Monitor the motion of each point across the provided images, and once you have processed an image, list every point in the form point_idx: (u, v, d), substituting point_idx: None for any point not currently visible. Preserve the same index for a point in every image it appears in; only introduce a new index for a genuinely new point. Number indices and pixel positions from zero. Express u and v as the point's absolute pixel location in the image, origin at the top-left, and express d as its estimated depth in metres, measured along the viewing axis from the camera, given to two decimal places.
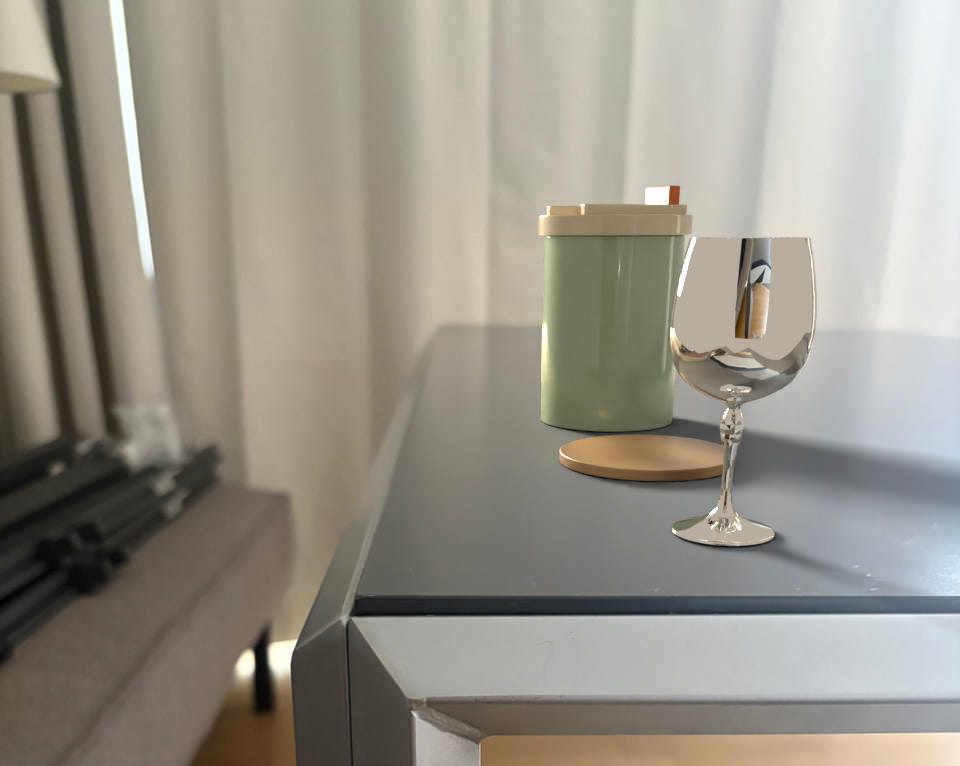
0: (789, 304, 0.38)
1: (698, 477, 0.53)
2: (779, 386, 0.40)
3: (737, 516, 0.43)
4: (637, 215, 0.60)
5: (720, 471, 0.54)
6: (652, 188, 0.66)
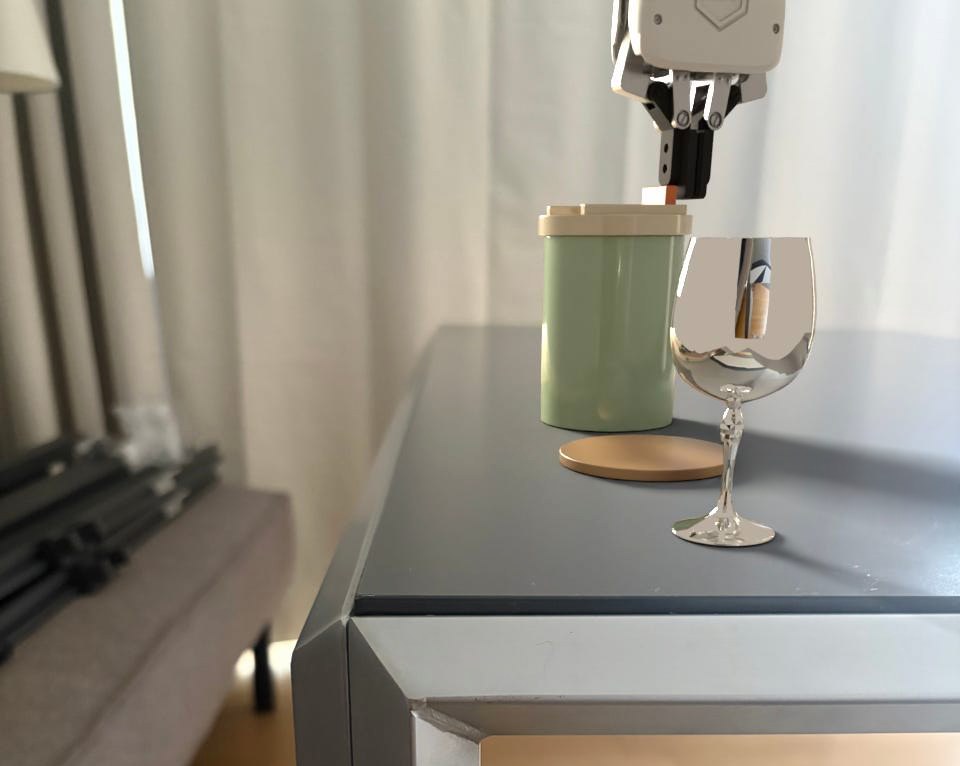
0: (789, 304, 0.38)
1: (698, 477, 0.53)
2: (779, 386, 0.40)
3: (737, 516, 0.43)
4: (637, 215, 0.60)
5: (720, 471, 0.54)
6: (649, 188, 0.66)
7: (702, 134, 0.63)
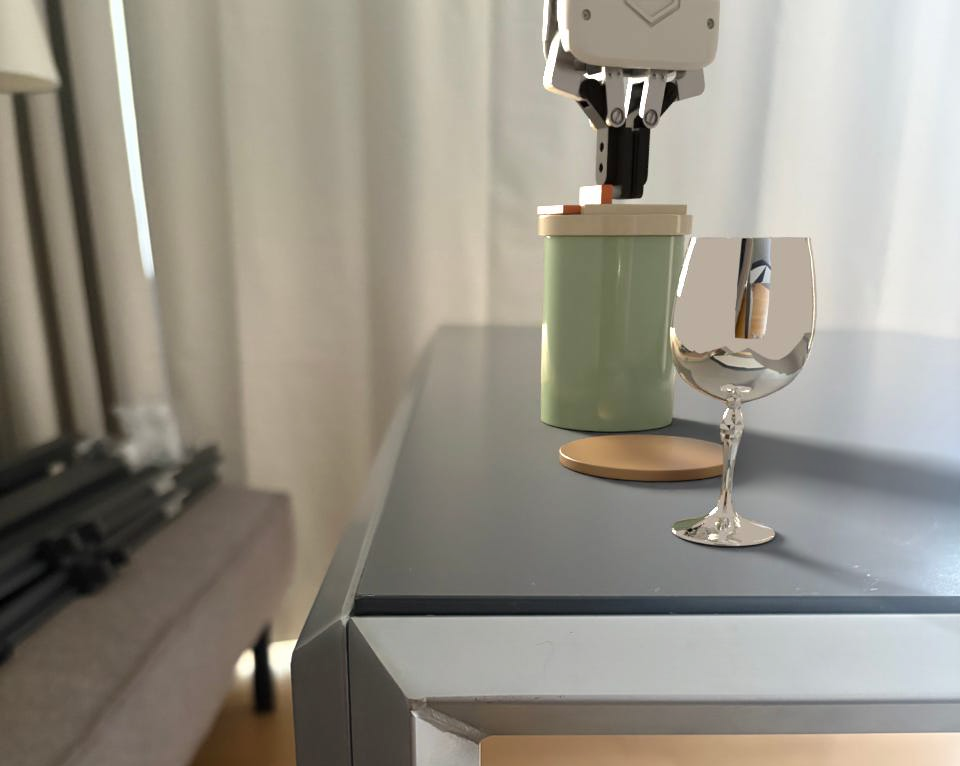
0: (789, 304, 0.38)
1: (698, 477, 0.53)
2: (779, 386, 0.40)
3: (737, 516, 0.43)
4: (637, 215, 0.60)
5: (720, 471, 0.54)
6: (586, 187, 0.64)
7: (637, 132, 0.62)
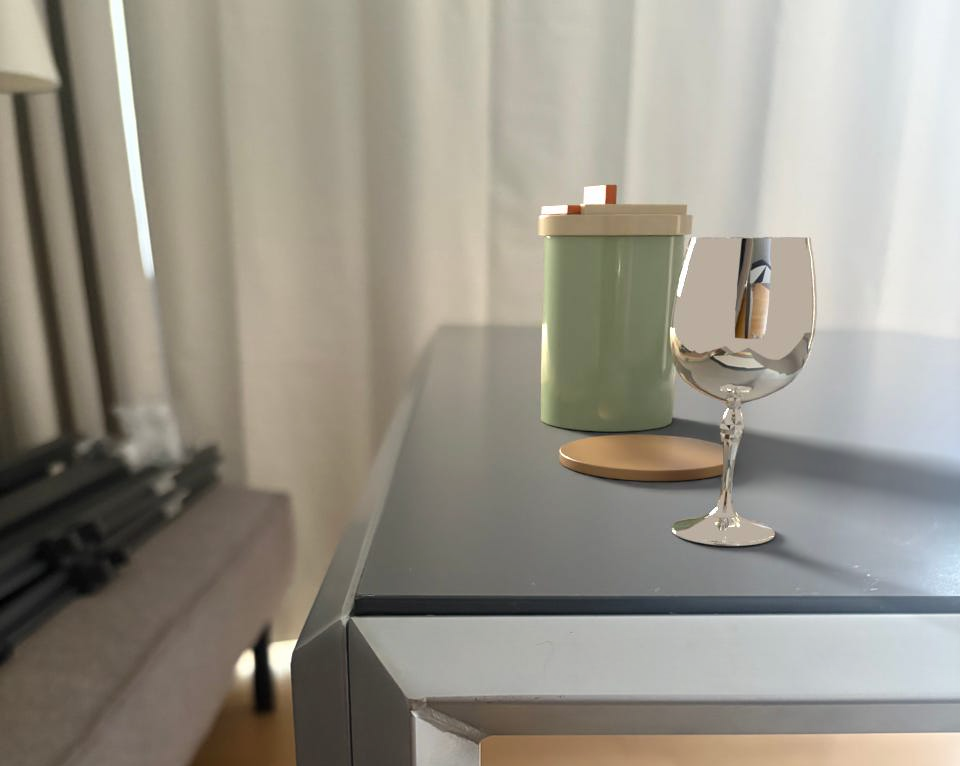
0: (789, 304, 0.38)
1: (698, 477, 0.53)
2: (779, 386, 0.40)
3: (737, 516, 0.43)
4: (637, 215, 0.60)
5: (720, 471, 0.54)
6: (590, 187, 0.64)
7: None
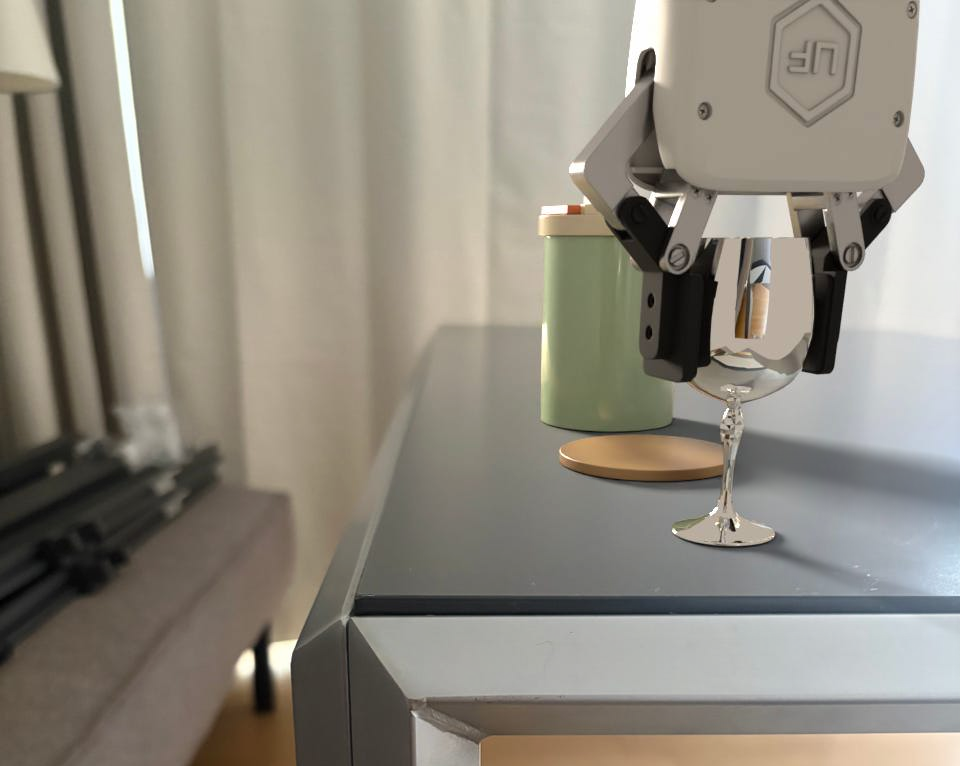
0: (789, 304, 0.38)
1: (698, 477, 0.53)
2: (779, 386, 0.40)
3: (737, 516, 0.43)
4: None
5: (720, 471, 0.54)
6: None
7: (832, 278, 0.39)
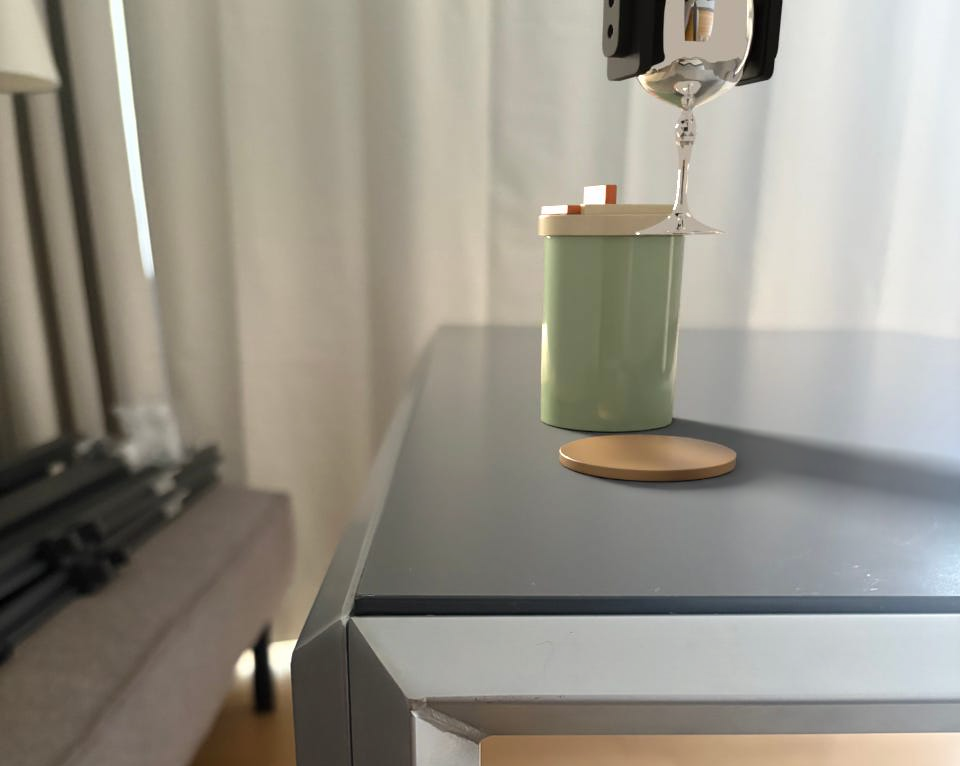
0: None
1: (698, 477, 0.53)
2: (724, 80, 0.46)
3: (692, 216, 0.49)
4: (637, 215, 0.60)
5: (720, 471, 0.54)
6: (590, 187, 0.64)
7: None
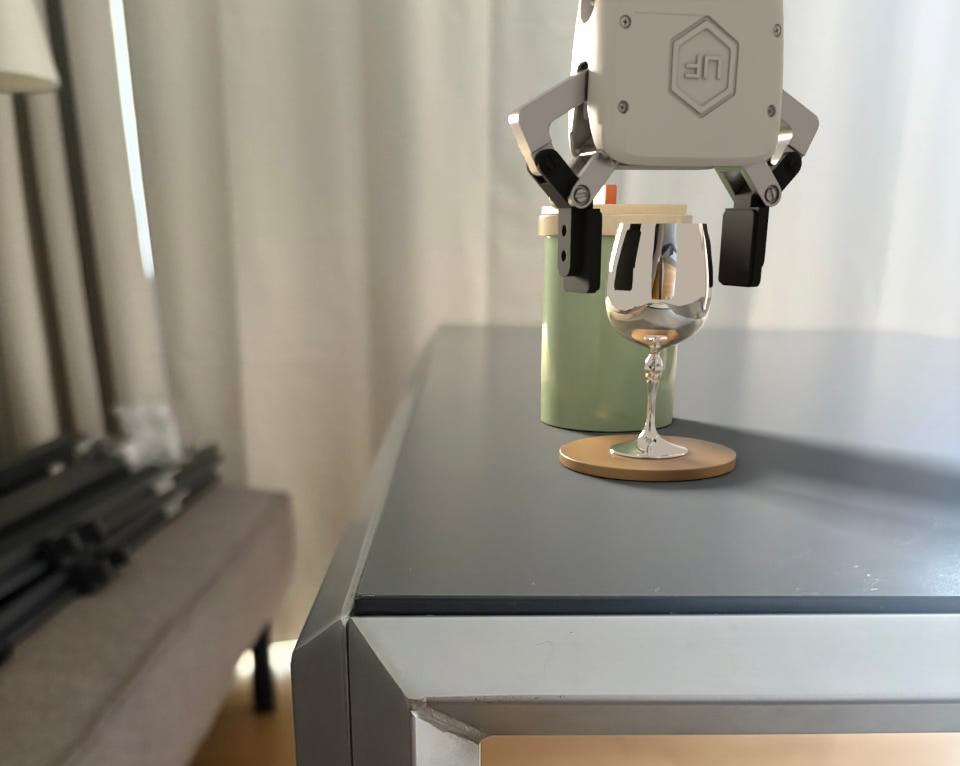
0: (689, 272, 0.51)
1: (698, 477, 0.53)
2: (685, 335, 0.53)
3: (659, 438, 0.56)
4: (637, 215, 0.60)
5: (720, 471, 0.54)
6: None
7: (756, 212, 0.52)
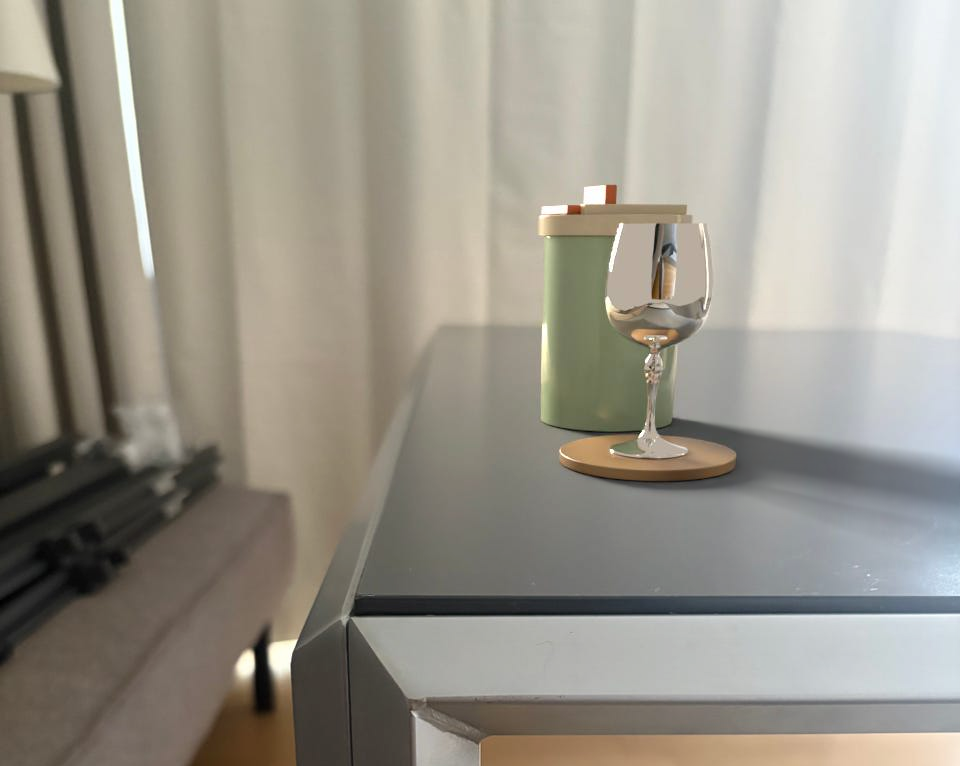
0: (689, 272, 0.51)
1: (698, 477, 0.53)
2: (685, 335, 0.53)
3: (659, 438, 0.56)
4: (637, 215, 0.60)
5: (720, 471, 0.54)
6: (590, 187, 0.64)
7: None
